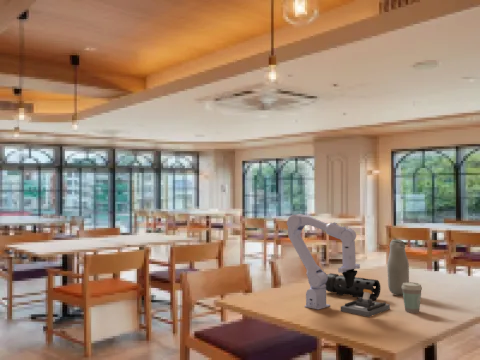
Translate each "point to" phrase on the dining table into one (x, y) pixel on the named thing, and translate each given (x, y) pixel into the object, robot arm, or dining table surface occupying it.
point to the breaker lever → (366, 294)
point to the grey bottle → (397, 267)
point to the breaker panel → (365, 307)
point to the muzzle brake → (340, 287)
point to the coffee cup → (412, 296)
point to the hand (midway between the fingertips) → (349, 286)
